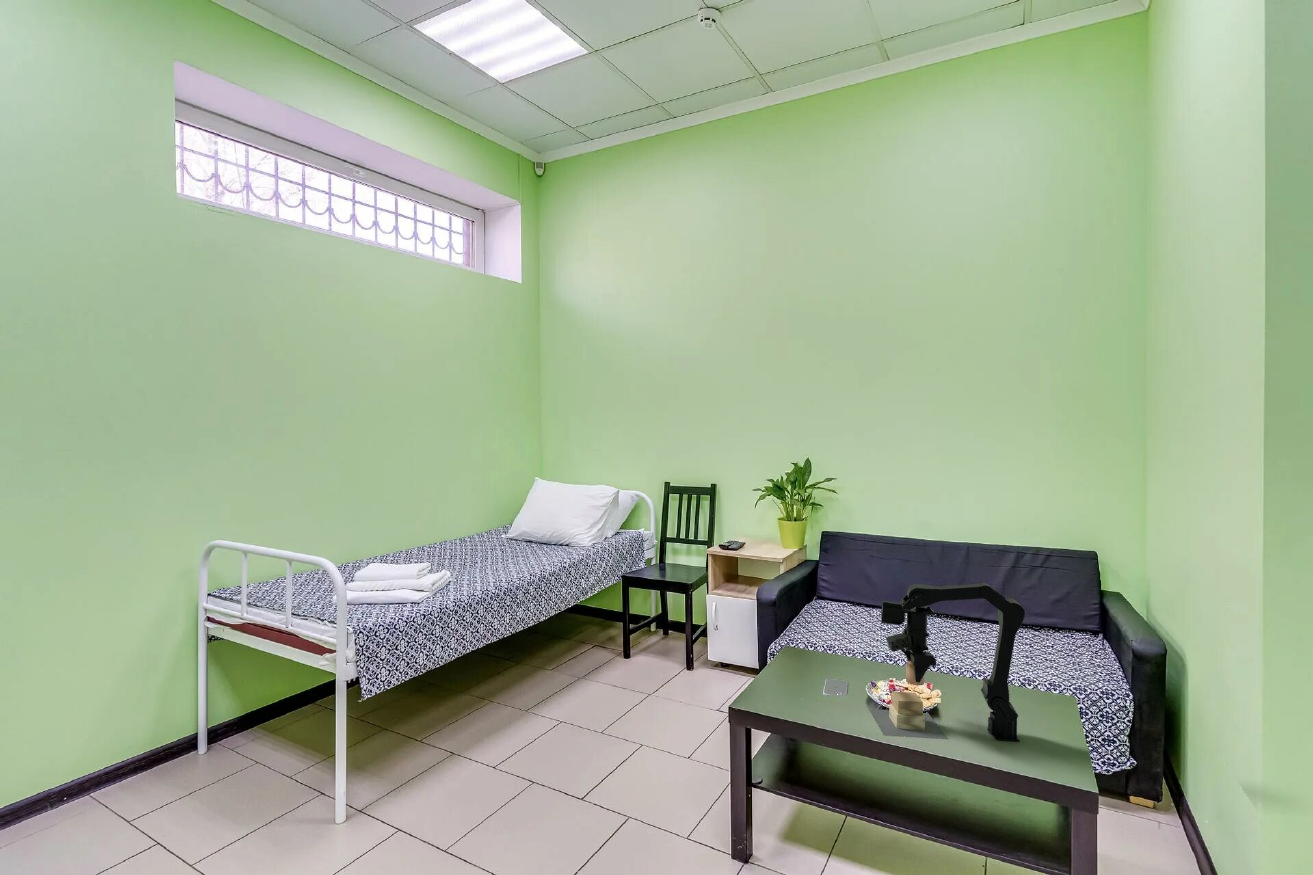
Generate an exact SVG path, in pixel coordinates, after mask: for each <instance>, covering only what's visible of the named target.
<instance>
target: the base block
mask: <svg viewBox="0 0 1313 875" xmlns="http://www.w3.org/2000/svg"><path fill="white" fill-rule="evenodd" d="M888 708H889V709H888V710H889V717H890V719H891V720H892V722H893V723H894V725H895V726H896V728H897V729H914V730H925V716H924V715H923V716H920V715H902V714H898V713H897V712H896V710H895V709H894V707H893V706H892V703H889V707H888Z"/></svg>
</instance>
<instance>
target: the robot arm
mask: <svg viewBox="0 0 1313 875" xmlns="http://www.w3.org/2000/svg"><path fill="white" fill-rule="evenodd" d="M906 591H907V592H906V594H905V595H904V597H903V598H902V599H901V600H900V602H892V601H889V600H882V602H881V603H882V605H881V610H880V623H881V624H883V625H885V624H886V625H894V626H901V625H903V624H904V623H905V622H906V627H904V628H903V632H902V633H896V634H893V635H889V636H887V637H886V638H885V640H886V643H887V646H888V649H890V651H891V652H898V651H901V652H902V653H903V654H904V656H905V657H906V663H907V662H908V661H910V662H911V663H912V664H913V665H914V673H915V681H916V682H920V681H921V679H922V678H923V676H924V677H925V675H926V672H927V671H928V669H929V668H930V666H931V667H937V658H936V657H935V656H934V655H933V654H932V653H931V652H930V651H929V649H930V648H929V646H928V645H927V640H928V638H930V633H929V632H928V616H935V611H934V610H933V609H932V608H931V607H930V606H931V605H934V604H937V603H940V602H950V601H966V600H980V599H983V600H986V601H987V602H988V603H990V604H991V605H992V606H994V608H996V609H997V620H998V628H999V631H998V635H997V640H996V647H995V652H994V657H993V658H994V659H993V663H992V664H993V665H992V670H991V675H990V676H989V677H988V679H987V678H986V677H983V678H982V687H981V689H980V692H981V694H982V696H983V698H984V701H985V702H986V705H987V706H988V708H989V709H990V710H991V711H990V712H989V716H988V718H987V728H986V729H987V730H986V731H987V732H988V733H989V734H990V735H991V736H992V737H993V738H994V740H997V741H1007V742H1009V741H1010V742H1020V741H1021V740H1020V738H1019V737H1018V717H1019V714H1018V712H1017V711H1016V709H1015V707H1014V706H1013V704H1012V702H1010V691H1009V690H1010V689H1009V675H1010V670H1011V664H1012V657H1013V653H1014V647H1015V640H1016V635H1017V633H1018V631H1019V630H1020V628H1021V627H1022V625H1023V623H1024V619H1025V617H1026V611H1025V608H1023V606H1022V605H1021V604H1020V603H1019V602H1018V601H1017V600H1015V599H1013V598H1010V597H1005V595H1002V593H1000V592H998V591H997V590H996V589H994V588H993V587H992V586H990V584H988V583H986V582H981V583H975V584H960V585H945V586H944V585H943V586H938V585H937V586H935V585H931V584H923V583H922V584H921V583H913V584H911V585H910V586H909V587H908V588H907V590H906Z"/></svg>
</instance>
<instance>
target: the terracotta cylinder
mask: <svg viewBox="0 0 1313 875" xmlns="http://www.w3.org/2000/svg"><path fill="white" fill-rule="evenodd" d="M905 670H906V672H905V674H906V675H905V682H906V683H907V684H909V685H913V686H923V685H924V684H925V675H924V676H923V678H922V679H921V681H920V682H916V681H915V673H914V665H913V664H912V663H911V662H910V661H908V662H907V661H906V669H905Z"/></svg>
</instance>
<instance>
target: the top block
mask: <svg viewBox="0 0 1313 875" xmlns="http://www.w3.org/2000/svg"><path fill="white" fill-rule="evenodd" d="M891 704H892V706H893V707H894V709H895V710H896V712H897V713H898V714H902V715H920V716H923V712H924V711H923V710H924V709H923V708H924V707H923V706H924V702H923V700H922V699H921V698H920V697H919V695H918V694H917V692H913V691H912V692H909V691H891Z"/></svg>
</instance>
